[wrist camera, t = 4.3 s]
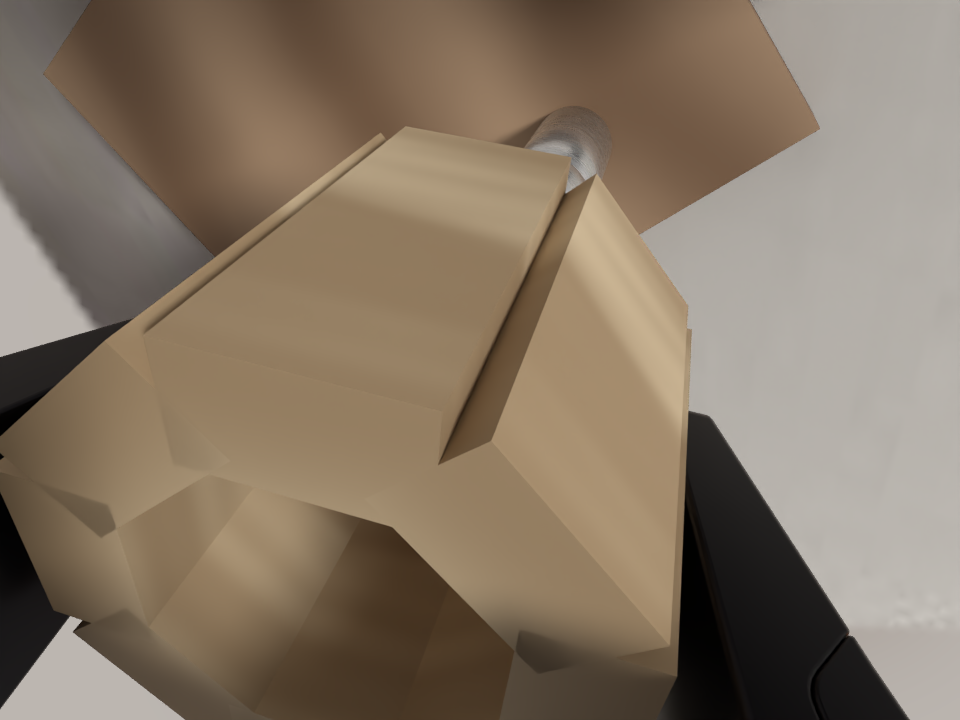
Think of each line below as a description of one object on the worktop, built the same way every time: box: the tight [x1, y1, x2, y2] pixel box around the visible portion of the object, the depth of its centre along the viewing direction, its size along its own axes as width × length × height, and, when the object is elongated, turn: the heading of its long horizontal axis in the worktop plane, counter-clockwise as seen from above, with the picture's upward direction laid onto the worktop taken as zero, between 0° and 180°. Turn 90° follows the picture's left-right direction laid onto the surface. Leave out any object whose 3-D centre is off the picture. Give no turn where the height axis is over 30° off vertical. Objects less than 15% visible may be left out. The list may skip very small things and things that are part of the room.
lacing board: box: [43, 0, 820, 257], centre depth 19 cm, size 17×14×2 cm
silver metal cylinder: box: [524, 106, 612, 194], centre depth 16 cm, size 2×2×5 cm
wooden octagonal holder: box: [0, 126, 692, 720], centre depth 8 cm, size 6×6×5 cm
